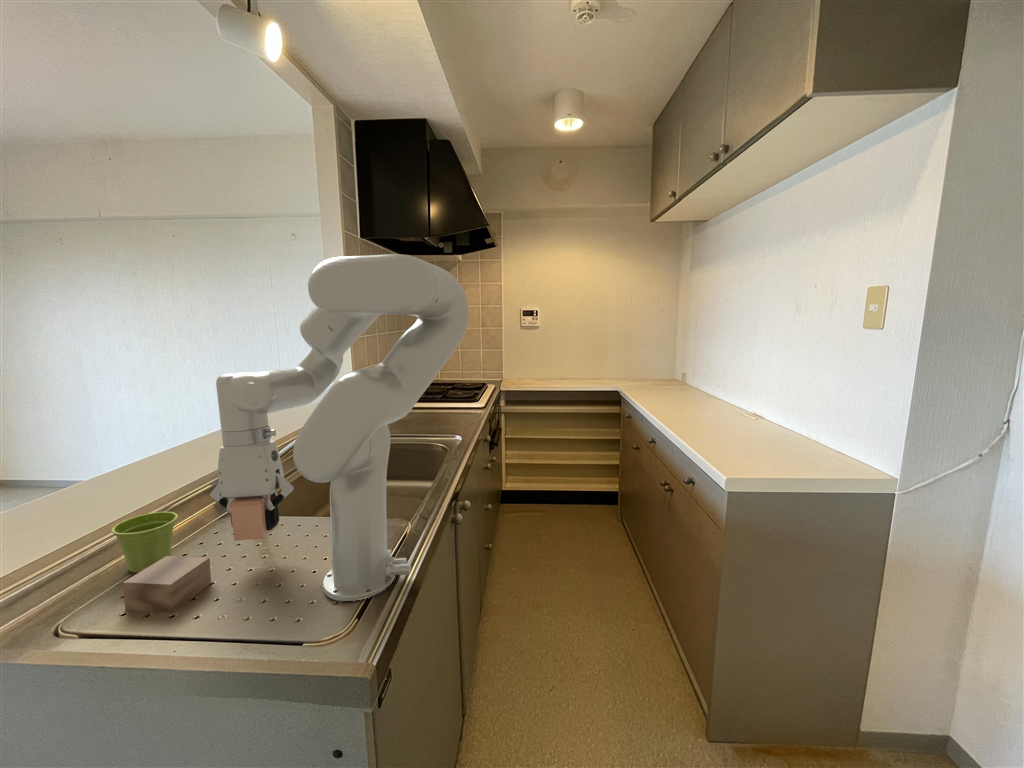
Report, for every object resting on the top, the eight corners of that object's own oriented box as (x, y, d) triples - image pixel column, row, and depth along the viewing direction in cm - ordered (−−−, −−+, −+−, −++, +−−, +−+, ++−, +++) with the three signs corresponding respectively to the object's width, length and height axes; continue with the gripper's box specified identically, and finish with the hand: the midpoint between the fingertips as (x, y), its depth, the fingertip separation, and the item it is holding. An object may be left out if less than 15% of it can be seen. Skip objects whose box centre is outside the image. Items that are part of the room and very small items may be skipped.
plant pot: (143, 581, 74) (139, 536, 73) (102, 574, 76) (97, 530, 75) (192, 555, 83) (189, 514, 82) (155, 549, 85) (152, 509, 84)
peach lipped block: (279, 525, 83) (275, 490, 82) (264, 538, 77) (260, 500, 76) (250, 527, 82) (246, 491, 82) (232, 541, 77) (228, 502, 76)
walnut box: (211, 583, 74) (209, 557, 73) (172, 613, 66) (170, 584, 66) (168, 581, 74) (166, 555, 74) (125, 611, 66) (122, 582, 66)
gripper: (301, 430, 82) (309, 517, 84) (212, 435, 81) (222, 523, 83) (283, 439, 75) (292, 534, 76) (185, 444, 73) (196, 541, 75)
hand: (256, 527), depth 79 cm, fingers closed on peach lipped block, 5 cm apart
